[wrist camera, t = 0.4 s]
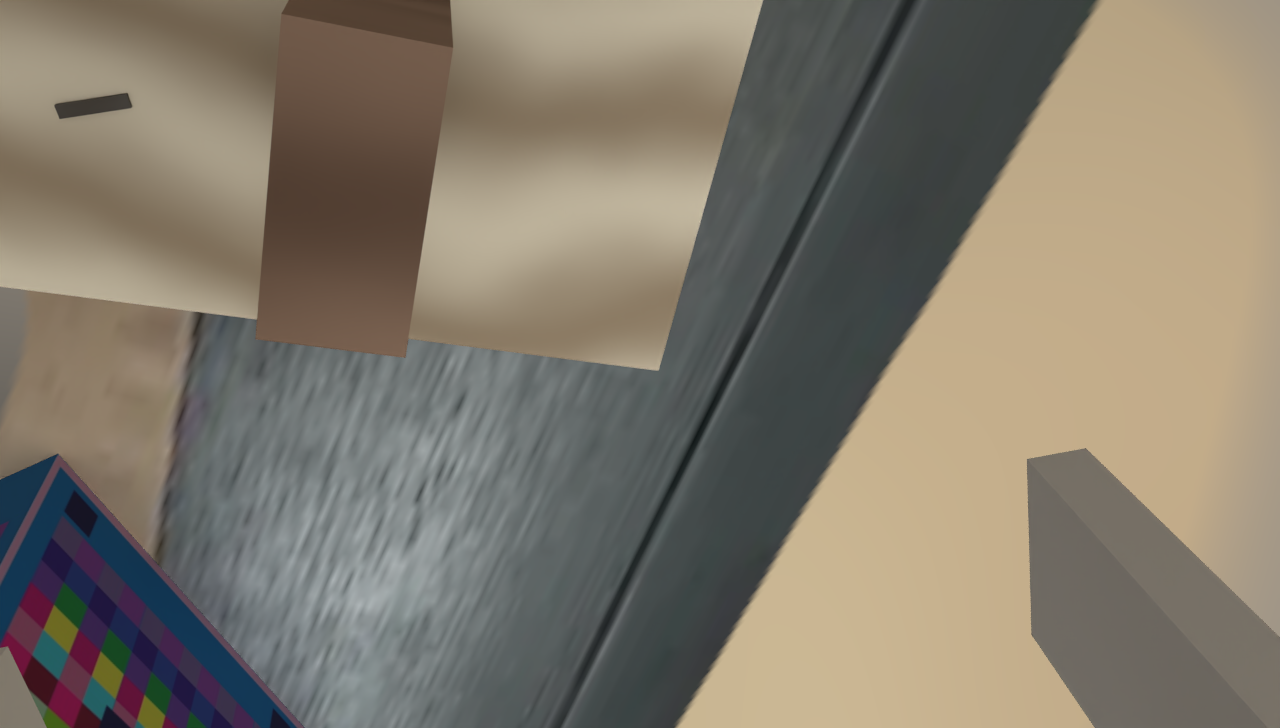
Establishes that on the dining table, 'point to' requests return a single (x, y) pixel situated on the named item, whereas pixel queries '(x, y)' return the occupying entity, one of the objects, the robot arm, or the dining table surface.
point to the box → (110, 620)
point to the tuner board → (463, 176)
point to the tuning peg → (351, 170)
